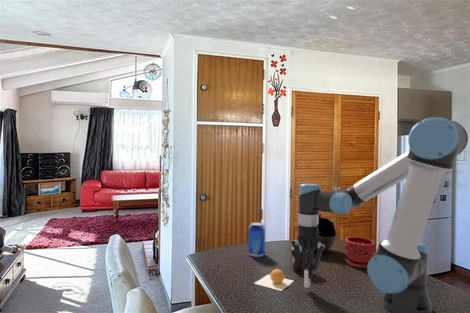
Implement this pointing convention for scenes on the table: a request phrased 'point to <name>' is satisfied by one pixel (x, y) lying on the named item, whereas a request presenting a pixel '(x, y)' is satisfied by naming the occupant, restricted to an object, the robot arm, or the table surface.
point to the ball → (277, 276)
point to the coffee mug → (295, 267)
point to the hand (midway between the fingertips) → (307, 286)
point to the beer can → (256, 239)
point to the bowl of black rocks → (326, 233)
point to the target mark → (269, 283)
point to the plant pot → (359, 251)
